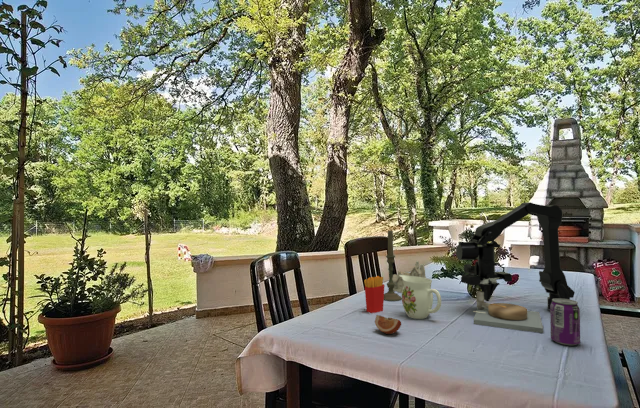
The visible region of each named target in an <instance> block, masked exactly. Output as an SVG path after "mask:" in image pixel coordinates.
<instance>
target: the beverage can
mask: <svg viewBox="0 0 640 408" xmlns="http://www.w3.org/2000/svg"><path fill="white" fill-rule="evenodd" d="M549 314H550V317H549V318H550V321H549V322H550V339H551V340H552V341H554V342H555V343H557V344H560V345H564V346H568V347H569V346H570V347H571V346H576V345H580V343H581V309H580V307H579V305H578V301H577V300H575V299H571V298H570V299H562V298H555V299H552V303H551V305H550V311H549Z"/></svg>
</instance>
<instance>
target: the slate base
mask: <svg viewBox="0 0 640 408" xmlns="http://www.w3.org/2000/svg"><path fill="white" fill-rule="evenodd" d="M472 312H473V313H475V315H474V317H473V325H479V326H486V327H494V328H499V329H500V328H501V329H507V330H508V329H509V330H515V331H522V332H523V331H524V332H531V333H539V334H544V325H543V321H542V318H541V314H540V311H534V310H533V311H532V310H527V319H524V320H507V319H501V318H497V317H494V316H491V315H490V314H489V313H488V308H485V307H484V309H479V308H476V310H473V311H472Z"/></svg>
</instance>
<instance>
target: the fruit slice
mask: <svg viewBox="0 0 640 408" xmlns="http://www.w3.org/2000/svg"><path fill="white" fill-rule="evenodd" d="M374 323H375V326H376V328H377V330H379V331H380V332H381V333H383V334H386V335H391V334H394V333H396V332H398V330H399V329H400V328H401V326H402V321H400V319H396V318H392V317H385V316H382V315H378V314H377V315H376V316H375V320H374Z"/></svg>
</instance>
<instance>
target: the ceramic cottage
mask: <svg viewBox="0 0 640 408" xmlns="http://www.w3.org/2000/svg"><path fill="white" fill-rule="evenodd" d="M392 274H393V273H392ZM399 275H408V276H416V277H423V278H427V276H426V269H425V265H424V264H423V263H420V261H418V260H416V262H415V265H414V266H413V267H411V270H410V272H407V271H404V272H403V273H402V272H401V271H400V270H399V271H397V274H396V273H395V274H393V275H392V276H393V277H392V280H393V283H395V286H394V288H393V291H394V292H395V291H397V292H396V293H401V294H402V289H403V286H404V284H403V279H402V278H401V277H400V276H399Z"/></svg>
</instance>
